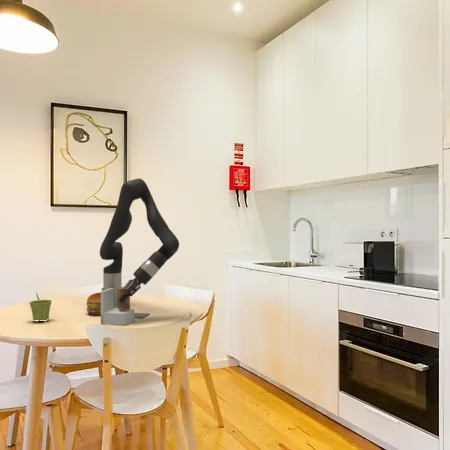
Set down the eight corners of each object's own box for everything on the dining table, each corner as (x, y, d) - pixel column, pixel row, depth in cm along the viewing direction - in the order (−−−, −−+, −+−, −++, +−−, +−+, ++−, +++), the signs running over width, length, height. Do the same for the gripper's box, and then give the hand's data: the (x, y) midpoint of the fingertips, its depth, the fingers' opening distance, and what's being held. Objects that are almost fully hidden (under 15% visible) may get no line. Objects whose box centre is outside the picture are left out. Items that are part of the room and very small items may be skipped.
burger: (84, 312, 218) (84, 291, 218) (112, 309, 223) (112, 289, 223) (87, 317, 206) (87, 295, 205) (117, 315, 211) (117, 293, 211)
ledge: (100, 324, 192) (100, 291, 192) (111, 319, 202) (111, 288, 201) (124, 325, 190) (124, 292, 189) (134, 320, 199) (134, 288, 199)
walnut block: (119, 309, 194) (119, 289, 193) (117, 307, 198) (117, 287, 198) (129, 308, 195) (129, 288, 195) (127, 307, 200) (127, 286, 199)
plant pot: (38, 324, 191) (38, 304, 191) (24, 322, 196) (24, 302, 196) (56, 320, 199) (56, 301, 199) (43, 318, 204) (43, 299, 204)
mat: (124, 317, 205) (124, 316, 205) (131, 313, 213) (132, 312, 213) (142, 318, 203) (142, 317, 203) (149, 314, 212) (149, 313, 212)
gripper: (156, 279, 195) (128, 309, 190) (147, 275, 208) (121, 303, 203) (144, 267, 193) (116, 297, 188) (136, 264, 206) (109, 292, 201)
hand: (119, 300), depth 196 cm, fingers closed on walnut block, 4 cm apart
